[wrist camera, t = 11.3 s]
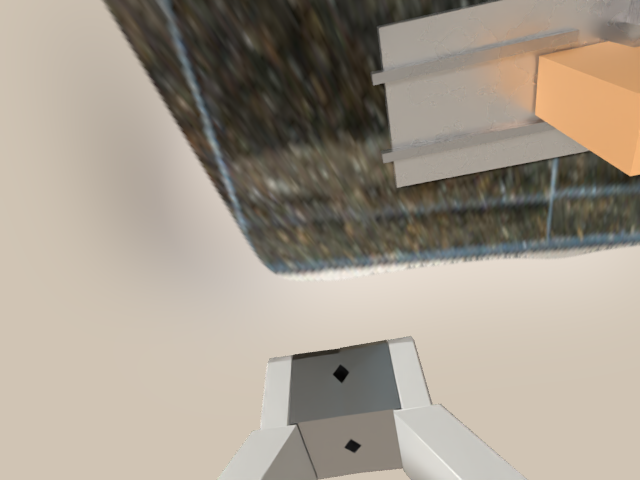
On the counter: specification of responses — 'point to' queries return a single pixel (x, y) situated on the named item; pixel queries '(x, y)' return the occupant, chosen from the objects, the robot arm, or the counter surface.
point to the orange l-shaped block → (594, 100)
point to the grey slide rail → (483, 82)
